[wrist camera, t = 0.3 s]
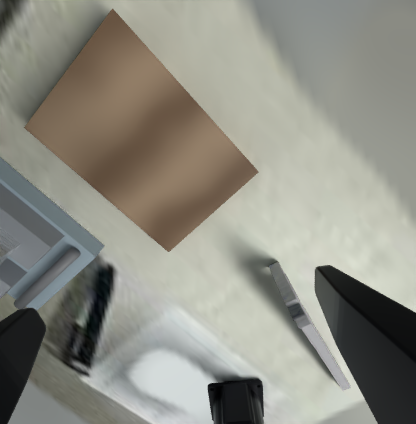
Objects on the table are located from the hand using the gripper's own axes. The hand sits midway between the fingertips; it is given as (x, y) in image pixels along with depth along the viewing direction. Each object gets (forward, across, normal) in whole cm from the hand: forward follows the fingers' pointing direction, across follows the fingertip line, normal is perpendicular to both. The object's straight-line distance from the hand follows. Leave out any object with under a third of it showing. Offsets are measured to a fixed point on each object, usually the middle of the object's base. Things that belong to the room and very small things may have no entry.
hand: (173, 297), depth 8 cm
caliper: (+13, -10, +19) cm, 25 cm away
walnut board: (+15, +3, -2) cm, 15 cm away
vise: (+14, +16, +3) cm, 22 cm away
